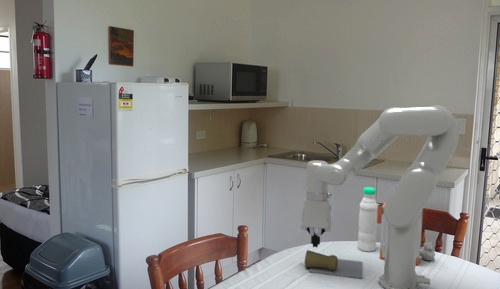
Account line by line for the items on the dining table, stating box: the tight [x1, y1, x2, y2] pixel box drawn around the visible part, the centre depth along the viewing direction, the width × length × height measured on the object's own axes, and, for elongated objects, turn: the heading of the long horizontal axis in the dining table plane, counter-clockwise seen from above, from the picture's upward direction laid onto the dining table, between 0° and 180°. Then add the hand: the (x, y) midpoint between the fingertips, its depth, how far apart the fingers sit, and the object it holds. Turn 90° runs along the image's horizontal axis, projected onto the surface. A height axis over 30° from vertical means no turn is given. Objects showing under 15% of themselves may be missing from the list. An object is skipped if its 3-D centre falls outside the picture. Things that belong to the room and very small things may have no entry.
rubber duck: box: [420, 240, 436, 261], centre depth 161 cm, size 5×7×8 cm
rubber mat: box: [308, 258, 364, 280], centre depth 153 cm, size 18×14×1 cm
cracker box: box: [379, 202, 424, 266], centre depth 159 cm, size 14×6×21 cm, turn 64°
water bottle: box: [357, 186, 379, 252], centre depth 169 cm, size 7×7×25 cm
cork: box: [304, 249, 339, 270], centre depth 151 cm, size 6×6×11 cm
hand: (315, 245), depth 152 cm, fingers closed
